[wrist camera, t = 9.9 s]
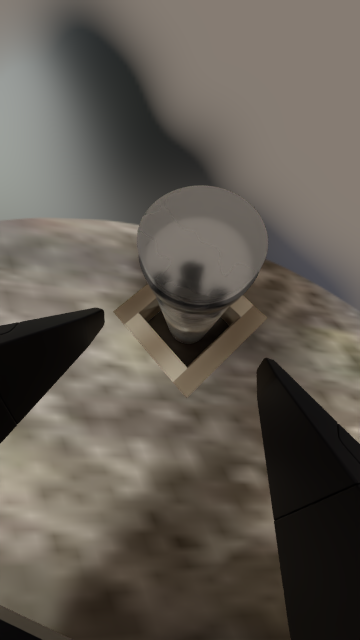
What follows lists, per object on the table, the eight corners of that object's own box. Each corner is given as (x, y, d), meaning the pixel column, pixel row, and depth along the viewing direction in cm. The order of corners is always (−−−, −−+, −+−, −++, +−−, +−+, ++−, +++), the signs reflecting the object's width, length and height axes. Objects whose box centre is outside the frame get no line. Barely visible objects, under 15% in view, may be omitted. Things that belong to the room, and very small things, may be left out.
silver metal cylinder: (214, 338, 17) (295, 278, 5) (174, 349, 17) (152, 318, 5) (201, 300, 18) (241, 171, 6) (163, 311, 18) (121, 200, 6)
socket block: (250, 326, 17) (267, 318, 14) (185, 390, 16) (186, 398, 12) (190, 268, 19) (191, 247, 15) (126, 321, 17) (113, 311, 14)
